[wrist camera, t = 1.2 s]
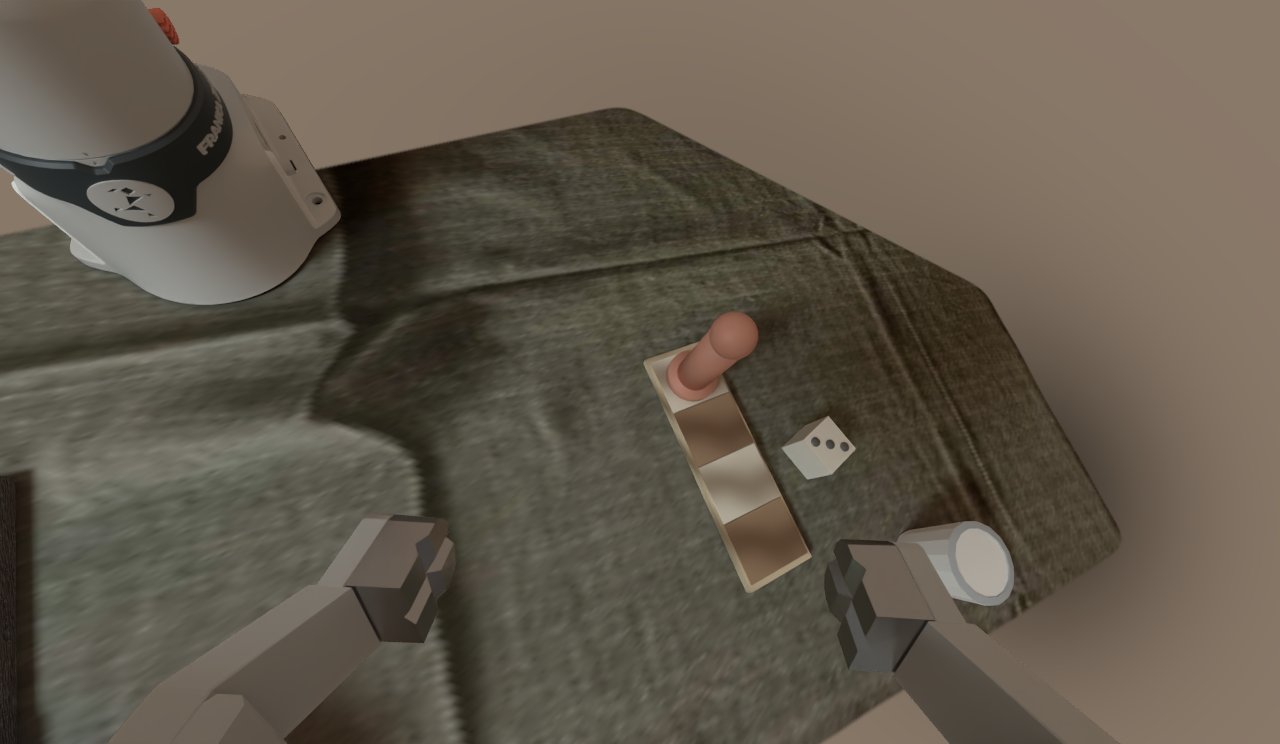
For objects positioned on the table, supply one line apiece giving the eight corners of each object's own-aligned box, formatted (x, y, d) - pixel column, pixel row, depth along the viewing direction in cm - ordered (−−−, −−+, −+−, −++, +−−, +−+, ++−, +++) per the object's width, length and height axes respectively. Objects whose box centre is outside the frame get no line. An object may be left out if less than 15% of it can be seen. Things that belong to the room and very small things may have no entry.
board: (643, 363, 46) (646, 358, 45) (701, 343, 48) (705, 338, 47) (745, 591, 40) (752, 593, 39) (805, 556, 43) (812, 557, 42)
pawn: (658, 362, 45) (702, 305, 34) (700, 348, 47) (755, 289, 36) (679, 408, 44) (731, 364, 33) (722, 391, 45) (785, 345, 35)
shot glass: (959, 567, 46) (1028, 571, 40) (921, 612, 44) (990, 625, 37) (915, 509, 48) (976, 504, 41) (876, 550, 45) (935, 552, 39)
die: (780, 447, 46) (803, 439, 43) (804, 425, 48) (828, 415, 44) (806, 479, 46) (832, 474, 42) (830, 455, 47) (856, 448, 44)
